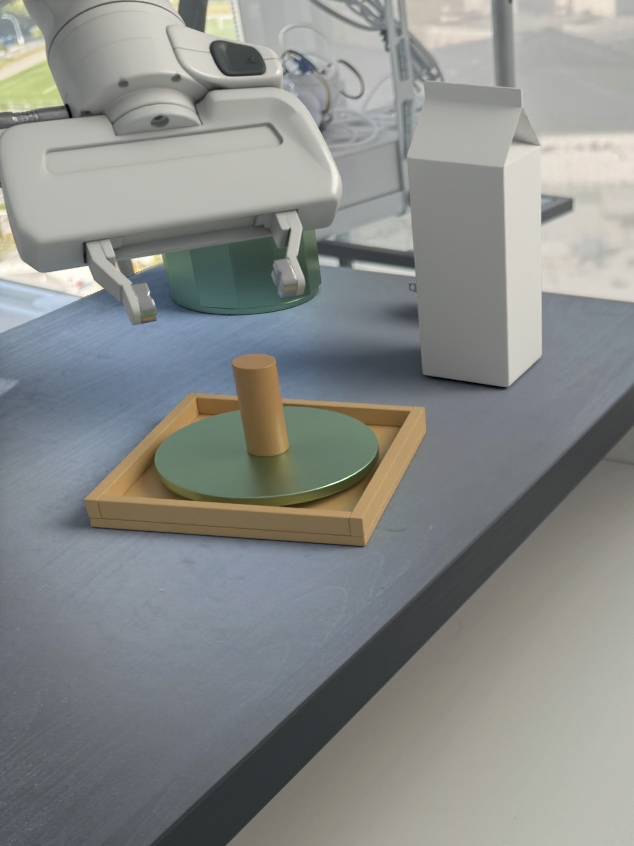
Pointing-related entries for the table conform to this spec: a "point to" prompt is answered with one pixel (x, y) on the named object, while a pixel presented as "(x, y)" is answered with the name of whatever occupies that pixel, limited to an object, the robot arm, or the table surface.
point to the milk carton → (476, 233)
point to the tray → (305, 522)
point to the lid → (266, 447)
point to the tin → (238, 276)
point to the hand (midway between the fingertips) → (221, 305)
